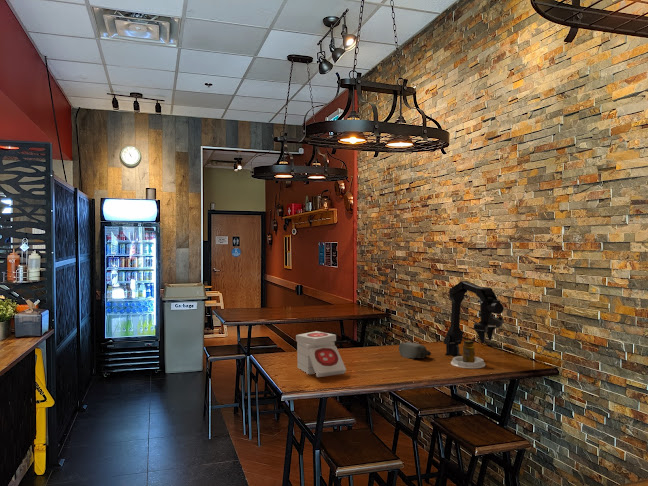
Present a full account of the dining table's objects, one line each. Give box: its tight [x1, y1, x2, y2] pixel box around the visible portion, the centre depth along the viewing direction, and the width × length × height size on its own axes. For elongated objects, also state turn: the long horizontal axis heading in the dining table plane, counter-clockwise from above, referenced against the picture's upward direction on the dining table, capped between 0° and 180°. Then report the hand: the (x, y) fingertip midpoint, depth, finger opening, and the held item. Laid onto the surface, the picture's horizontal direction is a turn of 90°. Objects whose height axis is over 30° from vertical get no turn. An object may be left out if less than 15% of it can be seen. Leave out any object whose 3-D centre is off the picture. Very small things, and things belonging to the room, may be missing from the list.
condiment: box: [462, 339, 476, 363], centre depth 263 cm, size 7×8×12 cm
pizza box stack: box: [295, 330, 347, 378], centre depth 252 cm, size 19×30×18 cm, turn 24°
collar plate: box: [450, 355, 487, 370], centre depth 264 cm, size 18×18×2 cm
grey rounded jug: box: [398, 340, 432, 360], centre depth 282 cm, size 18×11×8 cm, turn 33°
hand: (486, 341), depth 257 cm, fingers open, 9 cm apart
